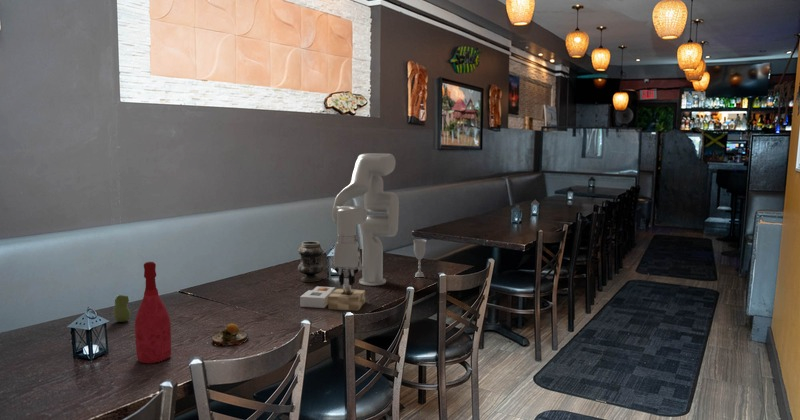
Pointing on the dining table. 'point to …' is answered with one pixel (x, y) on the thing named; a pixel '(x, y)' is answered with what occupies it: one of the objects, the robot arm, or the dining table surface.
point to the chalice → (419, 253)
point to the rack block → (346, 300)
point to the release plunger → (323, 289)
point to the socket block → (316, 297)
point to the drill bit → (346, 281)
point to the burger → (230, 336)
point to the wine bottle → (152, 323)
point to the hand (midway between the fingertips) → (347, 284)
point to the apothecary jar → (310, 260)
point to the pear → (121, 309)
